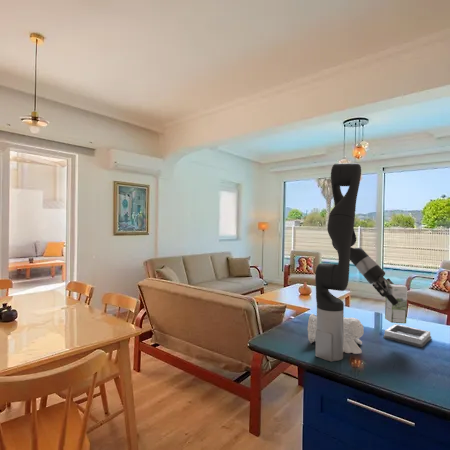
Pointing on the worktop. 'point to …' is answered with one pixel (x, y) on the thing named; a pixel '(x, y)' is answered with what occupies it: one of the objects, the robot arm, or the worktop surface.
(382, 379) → the worktop surface
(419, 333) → the tray
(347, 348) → the cherub figurine
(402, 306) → the syrup box
